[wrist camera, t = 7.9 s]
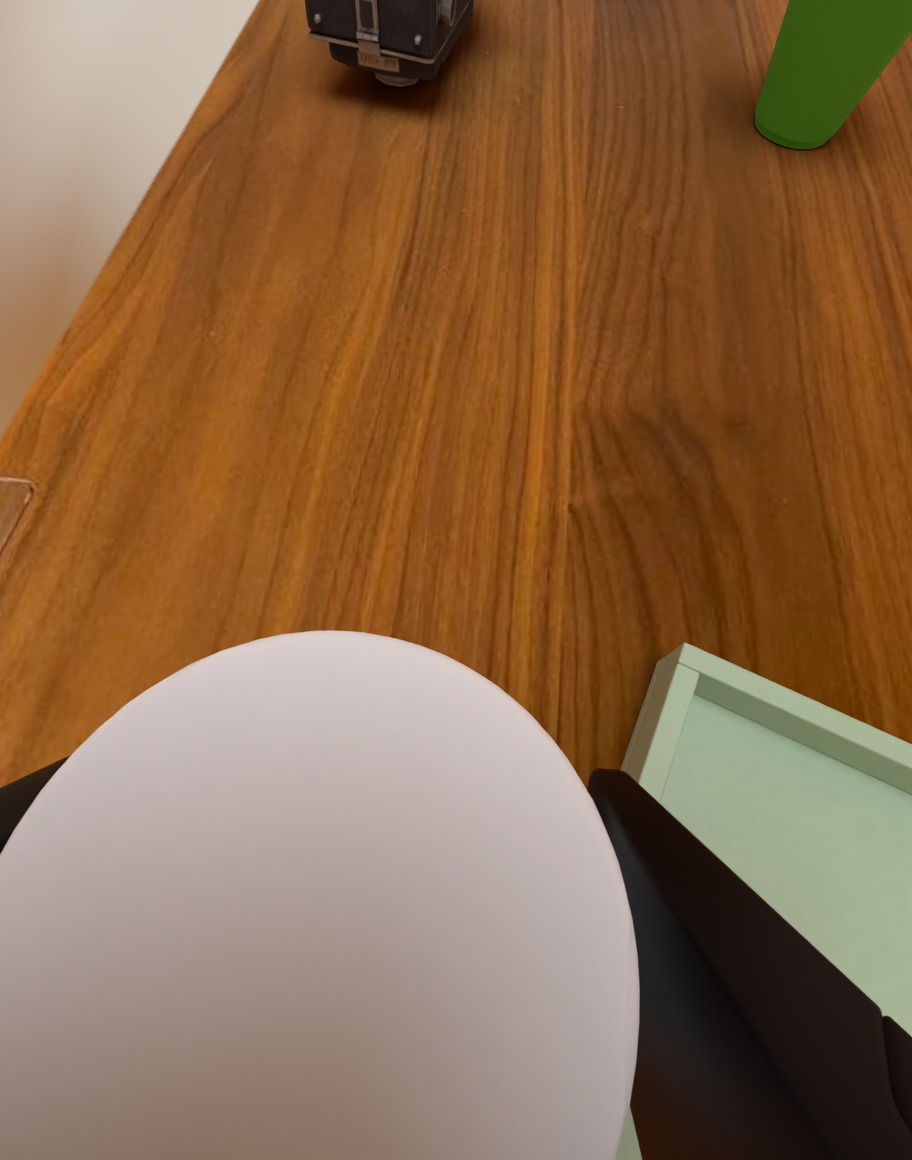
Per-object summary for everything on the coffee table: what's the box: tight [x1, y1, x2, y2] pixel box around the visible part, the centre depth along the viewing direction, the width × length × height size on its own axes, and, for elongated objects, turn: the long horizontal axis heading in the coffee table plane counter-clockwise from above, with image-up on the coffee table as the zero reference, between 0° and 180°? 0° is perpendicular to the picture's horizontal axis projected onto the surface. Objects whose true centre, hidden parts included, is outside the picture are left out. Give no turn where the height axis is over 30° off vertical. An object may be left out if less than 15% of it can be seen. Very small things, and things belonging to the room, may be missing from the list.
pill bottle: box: [0, 630, 640, 1160], centre depth 8 cm, size 6×6×10 cm
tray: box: [616, 643, 912, 1160], centre depth 16 cm, size 16×14×2 cm
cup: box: [755, 0, 912, 149], centre depth 31 cm, size 9×9×11 cm
